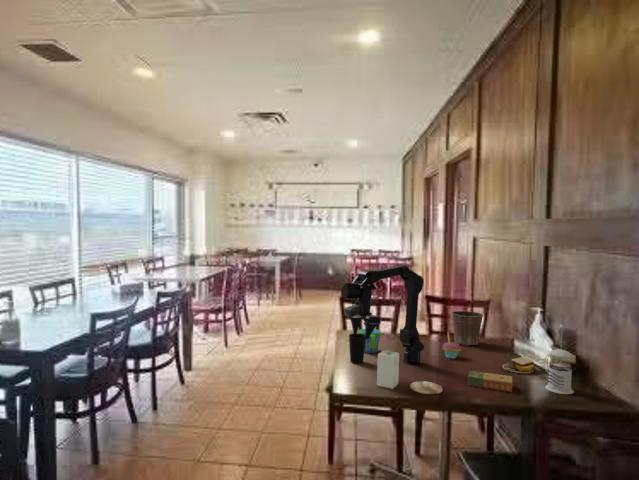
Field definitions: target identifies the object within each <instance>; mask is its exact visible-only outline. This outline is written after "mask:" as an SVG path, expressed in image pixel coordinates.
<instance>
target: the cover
mask: <svg viewBox="0 0 639 480" xmlns="http://www.w3.org/2000/svg"><path fill="white" fill-rule="evenodd" d="M399 367H400V352H396V351H395V352H394V351H392V350H391V349H386V350H382V351H381V352H379V353H378V354H377V367H376V386H378V387H383V388H387V389H392V390H393V389H394V388H395V387H397V385H398V386H399V372H400V371H399V370H400V368H399Z"/></svg>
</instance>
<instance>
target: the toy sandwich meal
mask: <svg viewBox="0 0 639 480" xmlns="http://www.w3.org/2000/svg"><path fill="white" fill-rule="evenodd" d="M510 361H511V363H504V364H502V366H501V367H502V368H503V370H504V371H506V370H508V371H510V372H509V373H512V372H515V373H514V374H517V373H530V374H532V373H533V372H534V370H535V365H534V364H535V361H534V360H532V359H531V358H529V357H525V356H520V357H516V358H511V359H510ZM510 365H512V366H510ZM508 371H507V372H508ZM520 371H521V372H520ZM531 372H532V373H531Z"/></svg>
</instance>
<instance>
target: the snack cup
mask: <svg viewBox="0 0 639 480" xmlns="http://www.w3.org/2000/svg"><path fill="white" fill-rule="evenodd" d="M358 334H364V335H365V328H361V329H358ZM381 335H382V332H381V330H379V329H377V328H375V329H374V330H373V332H372V333H371V335H370V337H369V338H368V339H366V342H365V350H364V353H366V354H367V353H368V354H374V353H377V352H378V349H379V343H380V337H381Z"/></svg>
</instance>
